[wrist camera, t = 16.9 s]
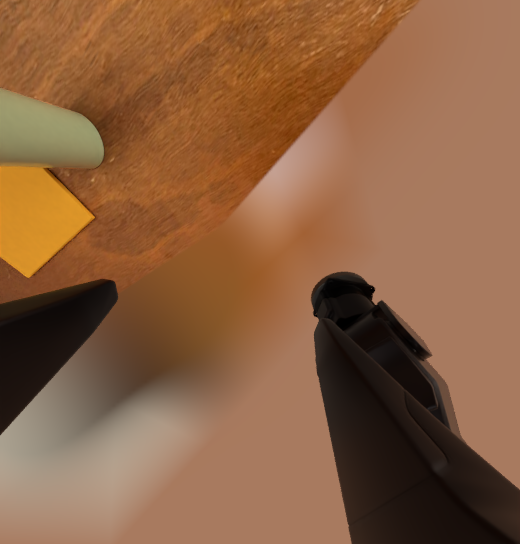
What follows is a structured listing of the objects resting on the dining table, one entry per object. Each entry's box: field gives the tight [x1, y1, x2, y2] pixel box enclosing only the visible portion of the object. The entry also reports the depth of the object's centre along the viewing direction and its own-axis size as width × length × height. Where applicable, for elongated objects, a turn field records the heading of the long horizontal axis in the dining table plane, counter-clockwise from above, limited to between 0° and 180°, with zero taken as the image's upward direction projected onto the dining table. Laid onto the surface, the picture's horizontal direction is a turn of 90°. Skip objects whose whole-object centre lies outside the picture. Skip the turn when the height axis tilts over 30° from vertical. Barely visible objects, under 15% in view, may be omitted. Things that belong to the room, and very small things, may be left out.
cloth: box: [0, 167, 95, 278], centre depth 20 cm, size 14×10×1 cm
